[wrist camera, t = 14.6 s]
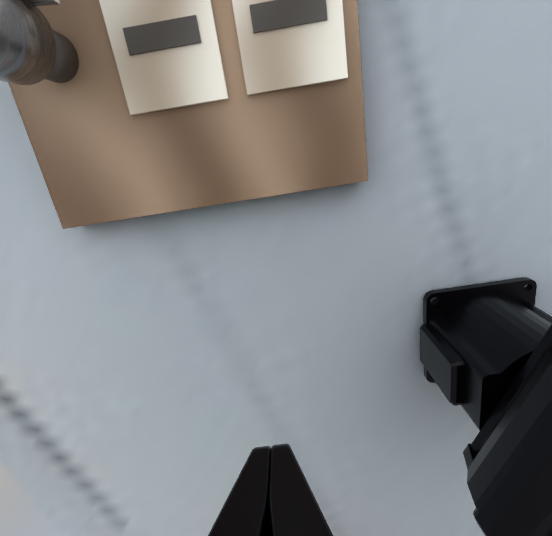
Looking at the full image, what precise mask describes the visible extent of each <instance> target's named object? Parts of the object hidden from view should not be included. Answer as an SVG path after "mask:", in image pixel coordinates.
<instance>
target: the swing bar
mask: <svg viewBox="0 0 552 536" xmlns="http://www.w3.org/2000/svg"><path fill="white" fill-rule="evenodd" d="M59 4H60V1H59V0H0V80H2V81H6V82H10V83H13V84H17V85H33V84H36V83H39V82H40V81H42V80H43V79H45V78H46V77H47V76H48V75H49V73H50V72H51V70H52V68H53V66H54V63H55V59H56V41H55V37H54V33H53V30H52V28H51V26H50V24H49V22H48V20H47V19H46V17H45V16H44V14H43V13H42V12H41V11H40V9H39V8H38V7H36V6H47V5H59Z"/></svg>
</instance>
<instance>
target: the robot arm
mask: <svg viewBox="0 0 552 536" xmlns="http://www.w3.org/2000/svg"><path fill="white" fill-rule="evenodd" d="M526 284H528V285H527V287H526V288H524V286H525V285H526ZM536 287H537V286H536V282H535V281H533V280H531V279H529V278H526V277H524V278H517V279H510V280H503V281H495V282H488V283H481V284H474V285H467V286H460V287H453V288H446V289H439V290H432V291H429V292H427V293H426V294H425V295H424V298H423V319H424V324H422V326H421V327H420V360H421V362H422V363H423V365H424V376H425V377H426V379H427V380H428V381H429V382H433V383H434V382H436V383H437V385H438V386H439V388H440V389H441V391H442V392H443V393H444V395H445V396H446V398H447V399H448V401H449V402H450V403H452V404H453V405H454V406H455V405H461V406H462V407H463V408H464V410H465V411H466V413H467V414H468V415H469V417H470V418H471V419H472V421H473V422H474V423H475V425H476V426H477V427H478V429H479V430H480V432H479V433H478V435H477V436H476V438H475V439H474V441H473V442H472V444H468V445H467V447H466V448H465V450H464V451H463V454H464V457H465V461H466V465H467V469H468V477H467V484H468V487H469V489H470V492H471V495H472V498H473V501H474V504H475V506H476V509H475V510H474V513H473V514H474V517H475V519H476V521H477V523H478V525H479V527H480V528H481V530H482V531H483V533H484V534H485V536H552V316H550V315H548V314H547V313H545V312H543V311H542V310H540V309H538V308H537V307H535V306H534V305H535V296H536ZM433 297H436V299H435V300H434V301H432V302H430V300H431V299H432V298H433ZM208 536H333V535H332V532H331V530H330V528H329V526H328V524H327V522H326V520H325V518H324V516H323V514H322V512H321V510H320V508H319V505H318V503H317V501H316V499H315V497H314V495H313V493H312V491H311V489H310V487H309V485H308V483H307V480H306V478H305V476H304V474H303V472H302V470H301V468H300V466H299V464H298V462H297V460H296V458H295V455H294V453H293V451H292V449H291V447H290V445H289V444H280V445H274V446H272V448H271V447H269V446H264V447H256V448H254V449H253V450H252V451H251V453H250V455H249V457H248V459H247V461H246V463H245V465H244V467H243V469H242V471H241V473H240V475H239V477H238V479H237V481H236V482H235V484H234V486H233V488H232V490H231V492H230V494H229V496H228V498H227V500H226V502H225V504H224V506H223V508H222V510H221V512H220V514H219V515H218V517H217V519H216V521H215V523H214V525H213V527H212V529H211V531H210V533H209V535H208Z"/></svg>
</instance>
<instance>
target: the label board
mask: <svg viewBox="0 0 552 536" xmlns="http://www.w3.org/2000/svg"><path fill="white" fill-rule="evenodd" d="M59 1H60V4H59V5H47V6H36V7H38V8H39V9H40V11H41V12H42V13H43V14H44V16H45V17H46V19H47V20H48V22H49V24H50V26H51V28H52V30H53V33H54V37H55V41H56V59H55V63H54V66H53V68H52V70H51V72H50V73H49V75H48V76H47V77H46V78H45V79H43V80H42V81H40V82H39V83H36V84H33V85H17V84H13V83H10V82H8V83H9V86H10V88H11V91H12V94H13V96H14V99H15V102H16V104H17V107H18V110H19V112H20V115H21V118H22V120H23V123H24V126H25V128H26V131H27V134H28V136H29V139H30V142H31V144H32V147H33V150H34V152H35V155H36V158H37V160H38V163H39V166H40V169H41V171H42V174H43V177H44V179H45V182H46V185H47V187H48V190H49V193H50V195H51V198H52V201H53V203H54V206H55V209H56V211H57V214H58V217H59V219H60V222H61V225H62V227H63V229H65V228H72V227H78V226H84V225H91V224H97V223H103V222H110V221H116V220H122V219H129V218H135V217H141V216H148V215H154V214H160V213H167V212H173V211H180V210H186V209H192V208H199V207H205V206H211V205H218V204H224V203H230V202H237V201H243V200H249V199H256V198H262V197H268V196H275V195H281V194H287V193H294V192H300V191H306V190H313V189H319V188H325V187H332V186H338V185H344V184H351V183H357V182H363V181H368V170H367V153H366V137H365V120H364V104H363V87H362V71H361V54H360V38H359V21H358V5H357V0H59Z"/></svg>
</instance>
